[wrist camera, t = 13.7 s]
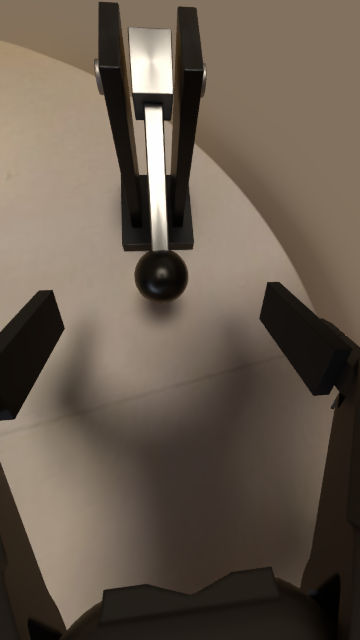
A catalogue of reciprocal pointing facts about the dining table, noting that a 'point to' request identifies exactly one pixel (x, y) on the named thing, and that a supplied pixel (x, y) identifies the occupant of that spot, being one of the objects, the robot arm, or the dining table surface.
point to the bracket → (119, 110)
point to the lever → (155, 158)
